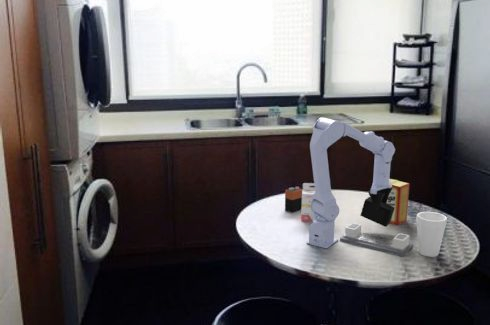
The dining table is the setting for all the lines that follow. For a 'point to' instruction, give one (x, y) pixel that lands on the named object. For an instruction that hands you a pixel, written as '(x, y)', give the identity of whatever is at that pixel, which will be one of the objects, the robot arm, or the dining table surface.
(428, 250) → the foam cup
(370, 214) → the digital camera
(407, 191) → the baking soda box
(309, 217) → the ink cartridge box
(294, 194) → the battery
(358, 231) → the mounted modules
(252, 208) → the dining table surface
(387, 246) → the rail panel
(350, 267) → the dining table surface
